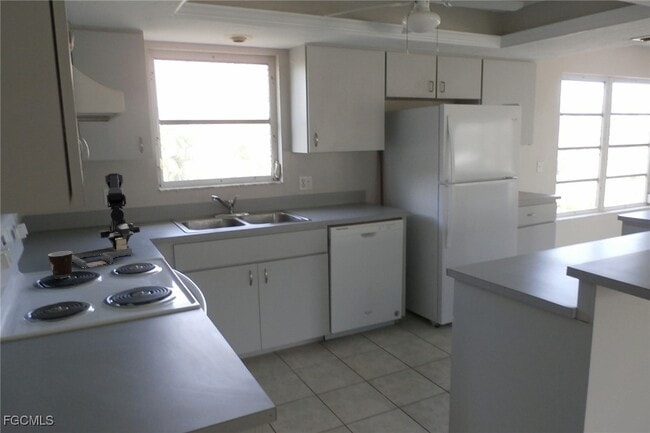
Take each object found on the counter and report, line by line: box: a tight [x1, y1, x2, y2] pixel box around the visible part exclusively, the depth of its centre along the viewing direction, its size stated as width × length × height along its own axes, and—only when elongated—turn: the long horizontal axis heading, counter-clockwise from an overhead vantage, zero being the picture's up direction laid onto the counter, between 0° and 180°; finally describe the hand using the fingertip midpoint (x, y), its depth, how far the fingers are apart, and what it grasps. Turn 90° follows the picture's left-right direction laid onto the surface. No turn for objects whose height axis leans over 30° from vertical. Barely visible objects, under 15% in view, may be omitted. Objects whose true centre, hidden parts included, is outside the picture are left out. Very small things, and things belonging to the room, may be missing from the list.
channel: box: [72, 246, 133, 268], centre depth 222 cm, size 22×25×3 cm
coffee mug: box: [47, 250, 73, 275], centre depth 192 cm, size 12×9×10 cm
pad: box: [86, 260, 107, 265], centre depth 213 cm, size 7×8×1 cm
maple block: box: [114, 238, 128, 251], centre depth 231 cm, size 4×4×6 cm
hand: (120, 248), depth 232 cm, fingers closed on maple block, 4 cm apart
